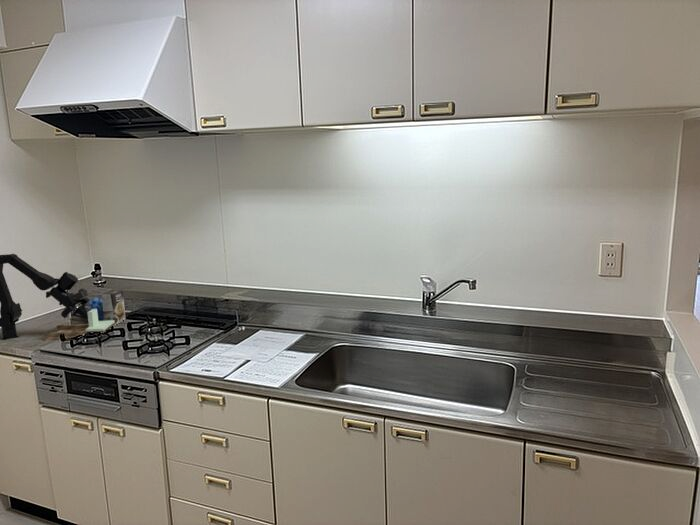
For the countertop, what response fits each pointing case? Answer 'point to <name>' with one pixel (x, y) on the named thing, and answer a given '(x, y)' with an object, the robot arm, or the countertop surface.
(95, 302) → the grapes
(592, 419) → the countertop surface
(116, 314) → the coffee box
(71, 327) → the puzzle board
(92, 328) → the mint green l-shaped block
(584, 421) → the countertop surface
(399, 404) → the countertop surface
